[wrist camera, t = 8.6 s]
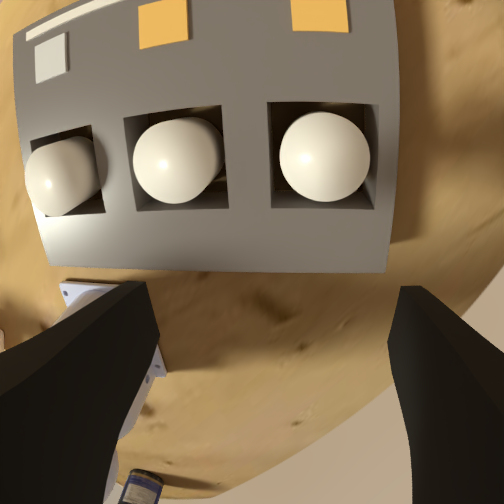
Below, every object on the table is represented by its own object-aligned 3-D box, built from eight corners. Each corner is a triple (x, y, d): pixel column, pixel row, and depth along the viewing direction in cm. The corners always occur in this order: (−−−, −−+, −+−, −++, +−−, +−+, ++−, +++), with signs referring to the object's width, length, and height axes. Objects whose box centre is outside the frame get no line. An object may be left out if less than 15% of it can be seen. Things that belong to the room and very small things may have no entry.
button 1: (355, 185, 16) (367, 202, 14) (282, 184, 17) (280, 201, 14) (357, 112, 15) (370, 115, 12) (280, 110, 15) (277, 112, 13)
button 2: (110, 196, 17) (82, 215, 15) (62, 201, 18) (33, 218, 15) (99, 130, 16) (68, 140, 13) (51, 142, 16) (19, 152, 13)
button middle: (228, 185, 17) (216, 202, 15) (161, 188, 18) (139, 205, 15) (222, 113, 16) (208, 116, 13) (153, 121, 16) (128, 126, 13)
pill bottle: (154, 484, 44) (138, 533, 34) (125, 469, 42) (106, 519, 32) (171, 481, 41) (154, 535, 31) (139, 466, 40) (119, 521, 30)
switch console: (373, 247, 19) (386, 274, 16) (72, 246, 21) (48, 267, 18) (373, -18, 11) (388, -38, 8) (42, 36, 14) (11, 34, 11)
